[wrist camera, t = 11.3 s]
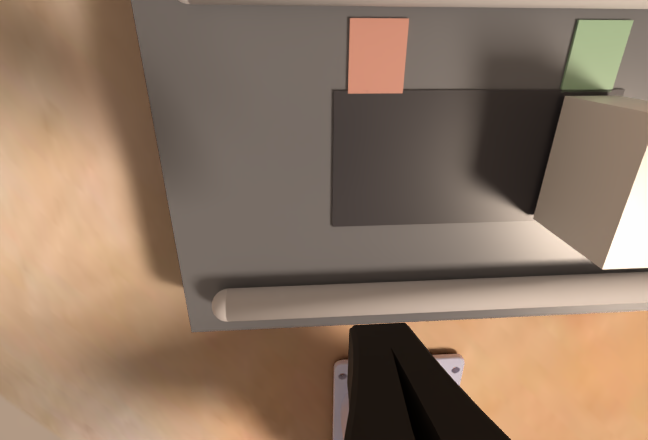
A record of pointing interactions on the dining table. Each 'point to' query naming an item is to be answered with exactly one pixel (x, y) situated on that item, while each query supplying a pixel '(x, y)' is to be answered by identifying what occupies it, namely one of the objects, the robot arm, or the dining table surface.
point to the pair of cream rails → (431, 292)
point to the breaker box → (371, 142)
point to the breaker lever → (599, 180)
